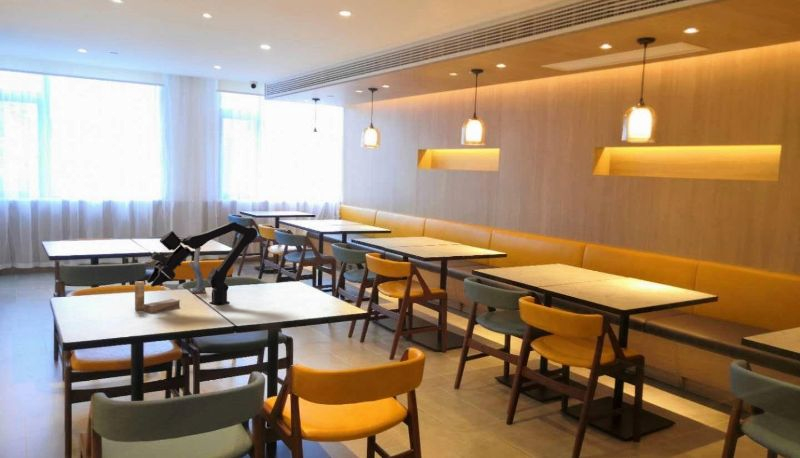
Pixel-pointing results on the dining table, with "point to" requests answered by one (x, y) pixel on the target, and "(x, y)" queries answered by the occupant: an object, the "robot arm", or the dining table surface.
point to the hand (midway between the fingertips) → (149, 284)
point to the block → (161, 305)
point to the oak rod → (139, 295)
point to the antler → (197, 273)
